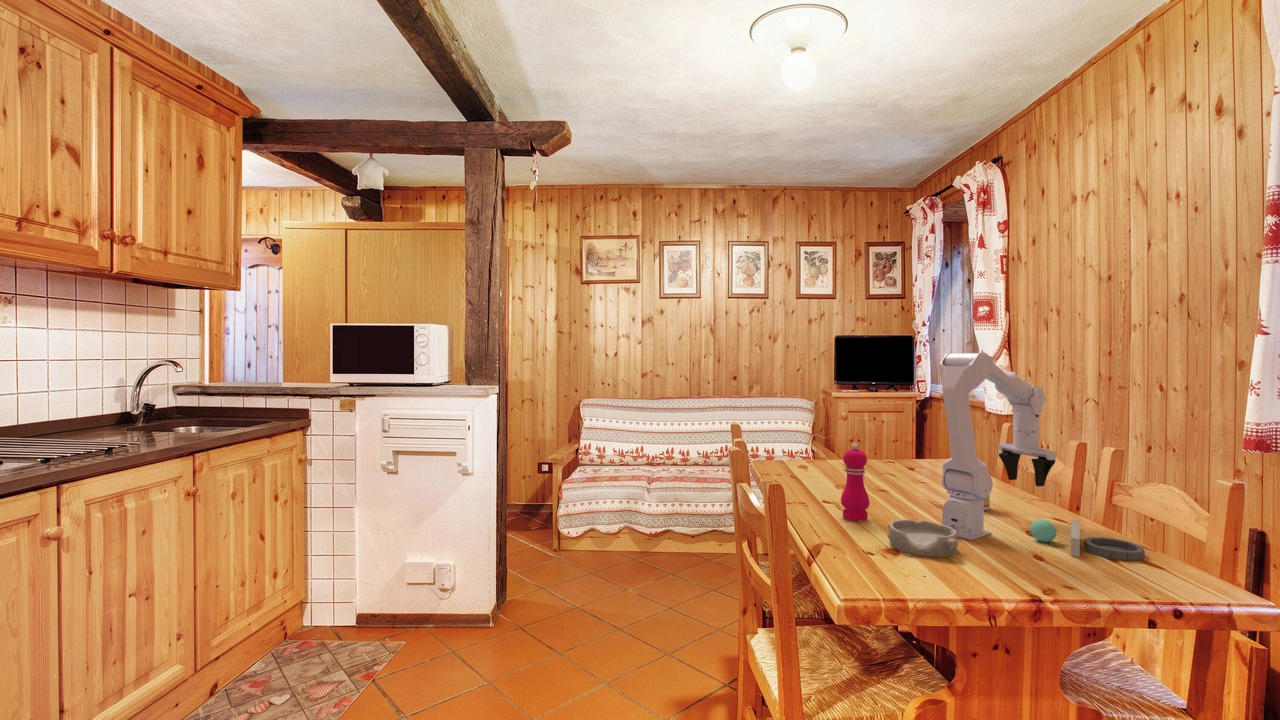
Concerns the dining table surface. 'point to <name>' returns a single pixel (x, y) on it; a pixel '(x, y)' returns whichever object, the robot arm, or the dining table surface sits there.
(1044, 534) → the ball
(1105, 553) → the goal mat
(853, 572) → the dining table surface
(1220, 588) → the dining table surface
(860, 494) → the pepper mill
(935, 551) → the dish
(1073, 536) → the acrylic wall
